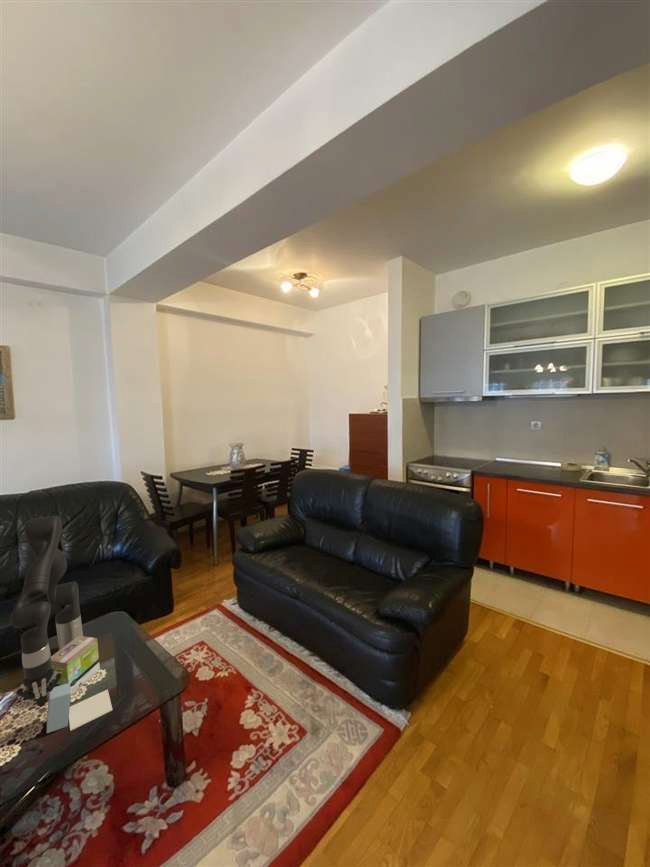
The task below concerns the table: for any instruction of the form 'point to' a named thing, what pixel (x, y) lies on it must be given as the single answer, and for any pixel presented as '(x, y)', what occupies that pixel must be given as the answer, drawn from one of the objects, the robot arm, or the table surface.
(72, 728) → the felt mat
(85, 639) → the tea box
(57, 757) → the table surface
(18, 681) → the table surface
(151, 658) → the table surface
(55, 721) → the pale blue-gray rectangular block
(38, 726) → the table surface
